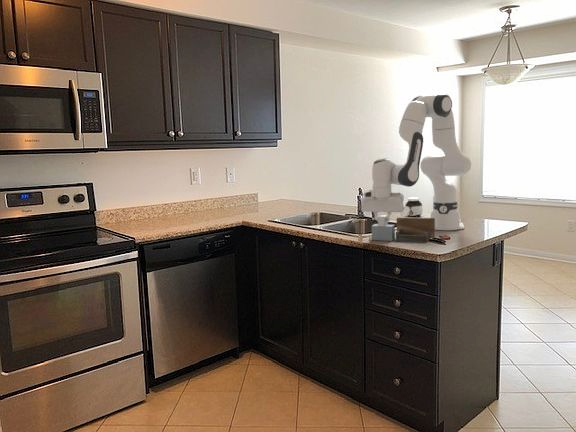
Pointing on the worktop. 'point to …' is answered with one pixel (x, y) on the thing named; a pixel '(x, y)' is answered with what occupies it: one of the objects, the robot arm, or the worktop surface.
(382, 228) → the grey stepped block
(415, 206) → the spread jar
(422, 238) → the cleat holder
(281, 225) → the worktop surface
